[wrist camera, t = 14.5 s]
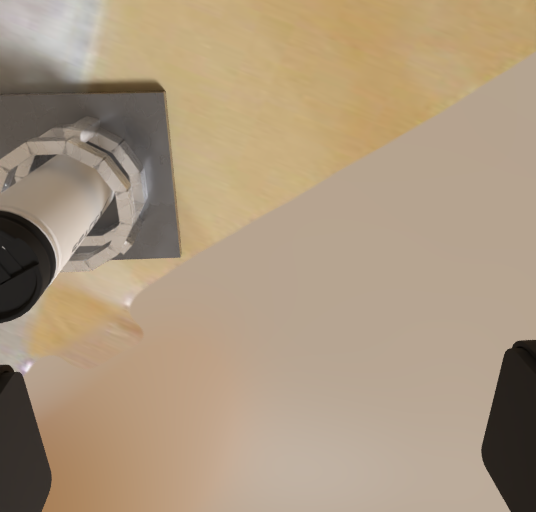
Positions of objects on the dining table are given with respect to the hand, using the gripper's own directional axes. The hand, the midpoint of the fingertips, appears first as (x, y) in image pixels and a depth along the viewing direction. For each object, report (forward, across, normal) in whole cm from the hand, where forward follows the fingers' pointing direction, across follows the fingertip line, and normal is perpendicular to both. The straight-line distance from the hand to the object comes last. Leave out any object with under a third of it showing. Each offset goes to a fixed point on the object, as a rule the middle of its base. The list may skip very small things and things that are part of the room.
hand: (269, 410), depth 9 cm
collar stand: (+38, +15, +6) cm, 42 cm away
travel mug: (+37, +15, +6) cm, 41 cm away
